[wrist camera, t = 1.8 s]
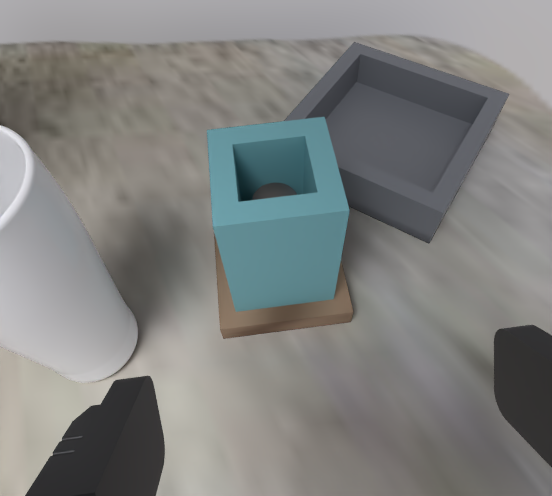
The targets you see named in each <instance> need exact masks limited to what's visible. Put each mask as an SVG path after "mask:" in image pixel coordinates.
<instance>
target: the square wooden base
mask: <svg viewBox="0 0 552 496" xmlns="http://www.w3.org/2000/svg"><path fill="white" fill-rule="evenodd" d="M291 195H297V193H296V192H295V190H294V189H293V188H291V187H290V186H288V185H286V184H283V183H276V182H275V183H268V184H265V185H263V186H261V187H260V188H258V189H257V190H256V192H255V193H254V195H253V198H252V200H258V199H266V198H275V197H283V196H291ZM214 239H215V255H216V271H217V287H218V303H219V319H220V330H221V333H222V336H223V339H225V338H232V337H240V336H248V335H255V334H263V333H270V332H278V331H286V330H293V329H301V328H308V327H316V326H324V325H331V324H339V323H346V322H351V319H352V316H353V308H352V304H351V300H350V295H349V291H348V287H347V283H346V279H345V274H344V270H343V266H342V262H341V261H340V267H339V273H338V278H337V284H336V289H335V295H334V299H332V300H324V301H316V302H309V303H301V304H293V305H285V306H278V307H270V308H262V309H255V310H247V311H239V312H236V311H235V307H234V304H233V300H232V296H231V293H230V289H229V285H228V281H227V278H226V274H225V270H224V267H223V263H222V259H221V255H220V252H219V248H218V244H217V240H216V237H215V233H214Z"/></svg>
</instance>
